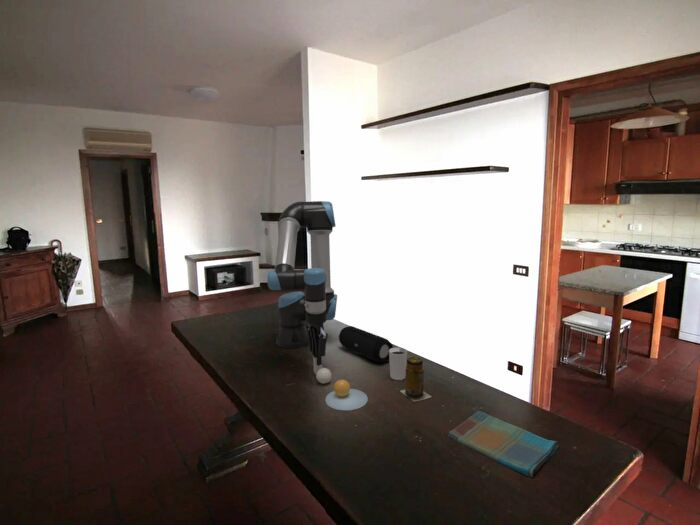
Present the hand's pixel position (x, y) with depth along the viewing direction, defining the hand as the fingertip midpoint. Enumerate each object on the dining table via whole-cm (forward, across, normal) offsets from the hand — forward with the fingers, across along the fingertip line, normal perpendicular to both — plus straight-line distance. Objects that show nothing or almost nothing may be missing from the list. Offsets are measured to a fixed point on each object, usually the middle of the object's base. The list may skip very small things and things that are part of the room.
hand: (317, 372), depth 146 cm
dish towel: (+3, +63, +22) cm, 67 cm away
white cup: (+2, +17, +25) cm, 30 cm away
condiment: (+2, +30, +21) cm, 37 cm away
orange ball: (-1, +17, 0) cm, 17 cm away
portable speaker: (+2, -7, +26) cm, 28 cm away
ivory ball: (-1, +6, 0) cm, 6 cm away
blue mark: (+2, +20, 0) cm, 20 cm away
